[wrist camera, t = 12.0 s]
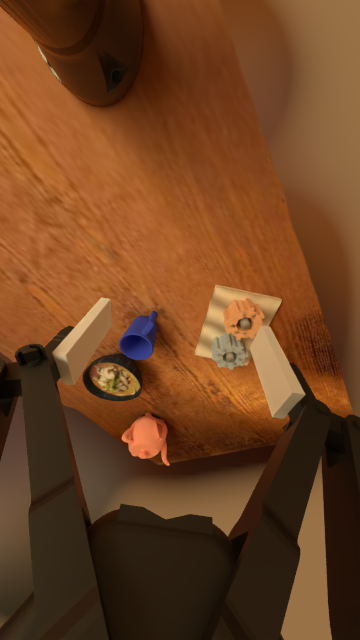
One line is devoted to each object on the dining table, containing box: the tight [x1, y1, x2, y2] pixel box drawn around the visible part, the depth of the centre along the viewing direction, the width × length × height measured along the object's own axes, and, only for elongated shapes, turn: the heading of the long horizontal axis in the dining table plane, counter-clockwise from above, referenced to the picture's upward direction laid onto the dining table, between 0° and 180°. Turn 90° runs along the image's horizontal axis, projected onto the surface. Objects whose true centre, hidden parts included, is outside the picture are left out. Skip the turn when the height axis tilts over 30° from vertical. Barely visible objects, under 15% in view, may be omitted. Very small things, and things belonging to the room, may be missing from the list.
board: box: [195, 285, 282, 365], centre depth 49 cm, size 22×16×7 cm
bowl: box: [83, 354, 142, 401], centre depth 59 cm, size 17×17×10 cm
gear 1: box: [223, 298, 265, 340], centre depth 46 cm, size 9×9×5 cm
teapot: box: [122, 412, 170, 466], centre depth 75 cm, size 16×17×14 cm
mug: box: [119, 311, 157, 360], centre depth 49 cm, size 8×12×10 cm
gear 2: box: [211, 332, 248, 370], centre depth 51 cm, size 9×9×5 cm
